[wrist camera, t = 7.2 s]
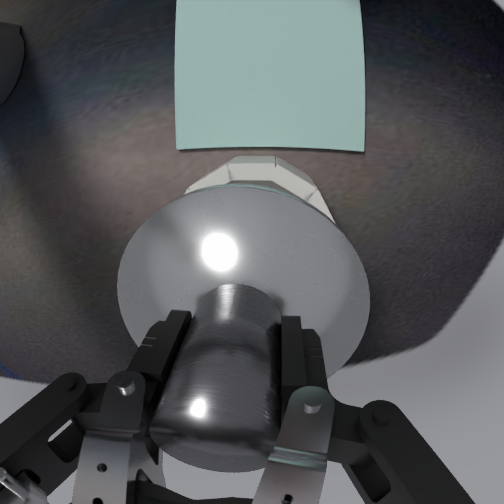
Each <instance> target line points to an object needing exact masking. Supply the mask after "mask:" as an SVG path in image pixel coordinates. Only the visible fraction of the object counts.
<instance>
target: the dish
mask: <svg viewBox="0 0 504 504" xmlns="http://www.w3.org/2000/svg"><path fill="white" fill-rule="evenodd" d="M223 184H253V185H260V186H265V187H270V188H275V189H278V190H281V191H283V192H286V193H289V194H292V195H294V196H296V197H298V198H300V199H302V200H304V201H306V202H308V203H310V204H312V205H313V206H314V207H316V208H317V209H319V210H320V211H321V212H323V213H324V214H326V215H327V216H328V217H329V218H330V219H331V220H332V221H333V222H334V220H333V218H332V216H331V214H330V212H329V210H328V208H327V206H326V204H325V202H324V200H323V198H322V196H321V194H320V192H319V190H318V189H317V187H316V186H315V184H314V183H313V181H312V180H311V178H310V177H309V176H308V175H307V174H306V173H304V172H302V171H301V170H299V169H297V168H296V167H294V166H292V165H291V164H289V163H287V162H286V161H284V160H282V159H281V158H279V157H276V158H275V156H236V157H234V158H233V159H231V160H229V161H228V162H226V163H224V164H223V165H221V166H219V167H218V168H216V169H214V170H213V171H211V172H210V173H208V174H206V175H205V176H204V177H202V178H201V179H199V180H198V181H197V182H195V183H194V184H193V185H191V186H190V187H189V188H188V189H187V190H186V193H185V194H187V193H189V192H192V191H195V190H197V189H201V188H205V187H210V186H214V185H223ZM334 223H335V222H334Z"/></svg>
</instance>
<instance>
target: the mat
mask: <svg viewBox="0 0 504 504" xmlns="http://www.w3.org/2000/svg"><path fill="white" fill-rule="evenodd" d="M175 122H176V147H177V150H178V149H193V148H214V147H301V148H322V149H338V150H351V151H362V152H364V139H365V65H364V45H363V31H362V19H361V9H360V0H177V7H176V30H175Z"/></svg>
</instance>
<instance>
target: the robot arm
mask: <svg viewBox="0 0 504 504" xmlns="http://www.w3.org/2000/svg"><path fill="white" fill-rule="evenodd" d="M23 59H24V41H23V38H22V36H21V35H20V25H17V24H11V23H5V22H0V104H2V103H3V102H4V101H5V100H6V99H7V98H8V96H9V95H10V93H11V92H12V90H13V88H14V86H15V84H16V82H17V80H18V77H19V75H20V71H21V68H22V64H23ZM191 320H192V314H191V312H190V311H186V310H174V309H172V310H171V311H170V313H169V315H168V317H167V318H166V320H165V321H158V322H156V323H155V324H154V325H153V326H151V327H150V328H149V330H148V332H147V334H146V336H145V338H144V339H143V341H142V343H141V345H140V346H139V348H138V350H137V352H136V354H135V355H134V357H133V359H132V361H131V363H130V365H129V366H128V368H127V370H125V371H121V372H118V373H116V374H114V375H113V376H112V377H111V378H110V379H109V380H108V382H107V383H96V384H87V382H86V380H85V378H84V377H83V376H82V375H80V374H78V373H66V374H64V375H62V376H60V377H59V378H57V379H56V380H55V381H53V382H52V383H51V384H50V385H48V386H47V387H46V388H45V389H43V390H42V391H41V392H40V393H38V394H37V395H36V396H35V397H33V398H32V399H31V400H30V401H28V402H27V403H26V404H25V405H23V406H22V407H21V408H20V409H18V410H17V411H16V412H15V413H13V414H12V415H11V416H10V417H9V418H7V419H6V420H5V421H4V422H2V423H1V424H0V504H49V503H48V502H47V496H48V495H49V494H51V493H52V492H53V491H54V490H55V489H56V488H57V487H58V486H59V485H60V484H61V483H62V482H63V481H65V480H66V479H67V478H68V477H69V476H70V475H71V474H72V473H73V472H74V471H75V470H76V469H77V473H76V478H75V484H74V490H73V497H72V503H70V504H318V503H319V499H320V495H321V491H322V486H323V482H324V478H325V473H326V467H327V460H328V461H333V462H338V463H341V464H342V466H343V468H344V469H345V471H346V473H347V474H348V476H349V478H350V479H351V481H352V483H353V484H354V486H355V488H356V489H357V491H358V493H359V494H360V496H361V497H362V499H363V501H364V502H365V504H475V503H474V501H473V500H472V499H471V498H470V496H469V495H468V494H467V493H466V491H465V490H464V489H463V487H462V486H461V485H460V484H459V483H458V481H457V480H456V479H455V477H454V476H453V475H452V473H451V472H450V471H449V470H448V468H447V467H446V466H445V465H444V463H443V462H442V461H441V460H440V458H439V457H438V456H437V455H436V453H435V452H434V451H433V450H432V448H431V447H430V446H429V445H428V443H427V442H426V441H425V440H424V438H423V437H422V436H421V435H420V433H418V431H417V430H416V429H415V427H414V426H413V425H412V424H411V422H410V421H409V420H408V419H407V418H406V416H405V415H404V414H403V413H402V411H401V410H400V409H399V408H398V407H397V406H396V405H395V404H393V403H391V402H389V401H384V400H376V401H372V402H370V403H368V404H367V405H365V406H364V407H363V408H360V407H355V406H350V405H346V404H343V403H341V402H339V401H337V400H336V399H335V398H334V397H333V396H332V395H331V393H330V392H329V389H328V384H327V377H326V370H325V364H324V358H323V351H322V345H321V339H320V337H319V335H318V334H317V333H316V331H315V330H314V329H302V326H301V317H300V316H285V315H282V316H281V399H280V400H281V403H282V415H281V429H280V432H279V435H278V438H277V441H276V444H275V447H274V450H273V451H272V452H271V454H270V456H269V459H268V461H267V464H266V467H265V470H264V473H263V475H262V478H261V481H260V484H259V486H258V489H257V491H256V494H255V496H254V499H249V498H236V497H229V498H218V499H204V500H193V499H189V498H187V497H184V496H182V495H180V494H178V493H175V492H173V491H171V490H169V489H167V488H166V484H165V479H164V475H163V470H162V459H163V457H162V456H163V450H162V449H161V448H159V447H158V446H157V445H156V443H155V442H154V441H153V439H152V438H151V436H150V432H149V428H150V424H151V422H152V419H153V416H154V414H155V411H156V409H157V406H158V403H159V401H160V398H161V395H162V393H163V390H164V388H165V385H166V383H167V380H168V377H169V375H170V372H171V370H172V367H173V365H174V362H175V360H176V357H177V355H178V352H179V350H180V347H181V345H182V342H183V340H184V337H185V335H186V332H187V330H188V328H189V325H190V323H191ZM68 420H71V421H72V423H71V424H70V425H69V426H68V427H67V428H66V429H65V430H63V431H62V432H61V433H60V434H59V435H58V436H57V437H55V438H54V439H53V440H52V441H50V442H48V439H49V437H50V436H51V435H52V434H54V433H55V432H56V431H57V430H58V429H59V428H61V427H62V426H63V425H64V424H65V423H66V422H67V421H68Z"/></svg>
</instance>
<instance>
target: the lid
mask: <svg viewBox="0 0 504 504" xmlns="http://www.w3.org/2000/svg"><path fill="white" fill-rule="evenodd" d="M117 293H118V302H119V307H120V311H121V314H122V317H123V320H124V323H125V325H126V327H127V329H128V331H129V333H130V335H131V337H132V338H133V340H134V341H135V343H136V344H137V346H138V347H139V346H140V345H141V343H142V341H143V339H144V338H145V336H146V334H147V332H148V330H149V328H150V327H151V326H153V325H154V324H155V323H156V322H158V321H165V320H166V318H167V317H168V315H169V313H170V311H171V310H172V309H174V310H186V311H190V312H191V314H192V320H191V323H190V325H189V328H188V330H187V332H186V335H185V337H184V340H183V342H182V345H181V347H180V350H179V352H178V355H177V357H176V360H175V362H174V365H173V367H172V370H171V372H170V375H169V377H168V380H167V383H166V385H165V388H164V390H163V393H162V395H161V398H160V401H159V403H158V406H157V409H156V411H155V414H154V416H153V419H152V422H151V424H150V428H149V432H150V436H151V438H152V439H153V441H154V442H155V443H156V445H157V446H158V447H159V448H161V449H162V450H163V451H164V452H166V453H167V454H169V455H170V456H172V457H174V458H176V459H178V460H180V461H182V462H184V463H187V464H189V465H192V466H196V467H198V468H202V469H207V470H212V471H219V472H234V473H235V472H249V471H255V470H258V469H262V468H265V467H266V464H267V461H268V459H269V456H270V454H271V452H272V451H273V450H274V447H275V444H276V441H277V438H278V435H279V432H280V429H281V415H282V403H281V400H280V399H281V316H282V315H285V316H300V317H301V326H302V329H314V330H315V331H316V333H317V334H318V335H319V337H320V339H321V345H322V351H323V358H324V364H325V370H326V377H327V378H329V377H330V376H332V375H333V374H334V373H335V372H336V371H338V370H339V369H340V368H341V367H342V366H343V365H344V364H345V363H346V362H347V360H348V359H349V358H350V357H351V356H352V354H353V353H354V351H355V350H356V348H357V347H358V345H359V343H360V341H361V339H362V337H363V335H364V332H365V329H366V326H367V323H368V317H369V311H370V291H369V285H368V280H367V276H366V273H365V270H364V267H363V265H362V262H361V260H360V259H359V257H358V255H357V253H356V251H355V249H354V248H353V246H352V244H351V243H350V241H349V240H348V238H347V237H346V236H345V234H344V233H343V232H342V230H341V229H340V228H339V227H338V226H337V225H336V224H335V223H334V222H333V221H332V220H331V219H330V218H329V217H328V216H327V215H326V214H324V213H323V212H321V211H320V210H319V209H317V208H316V207H314V206H313V205H312V204H310V203H308V202H306V201H304V200H302V199H300V198H298V197H296V196H294V195H292V194H289V193H286V192H283V191H281V190H278V189H275V188H270V187H265V186H260V185H253V184H223V185H214V186H210V187H205V188H201V189H197V190H195V191H192V192H189V193H187V194H184V195H182V196H180V197H178V198H176V199H175V200H173V201H171V202H169V203H168V204H166V205H165V206H163V207H162V208H161V209H159V210H158V211H157V212H156V213H154V214H153V215H152V216H151V217H149V218H148V219H147V220H146V221H145V222H144V223H143V224H142V225H141V226H140V228H139V229H138V230H137V231H136V232H135V233H134V235H133V237H132V238H131V240H130V241H129V243H128V245H127V247H126V249H125V251H124V254H123V256H122V258H121V262H120V266H119V271H118V280H117Z"/></svg>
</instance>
